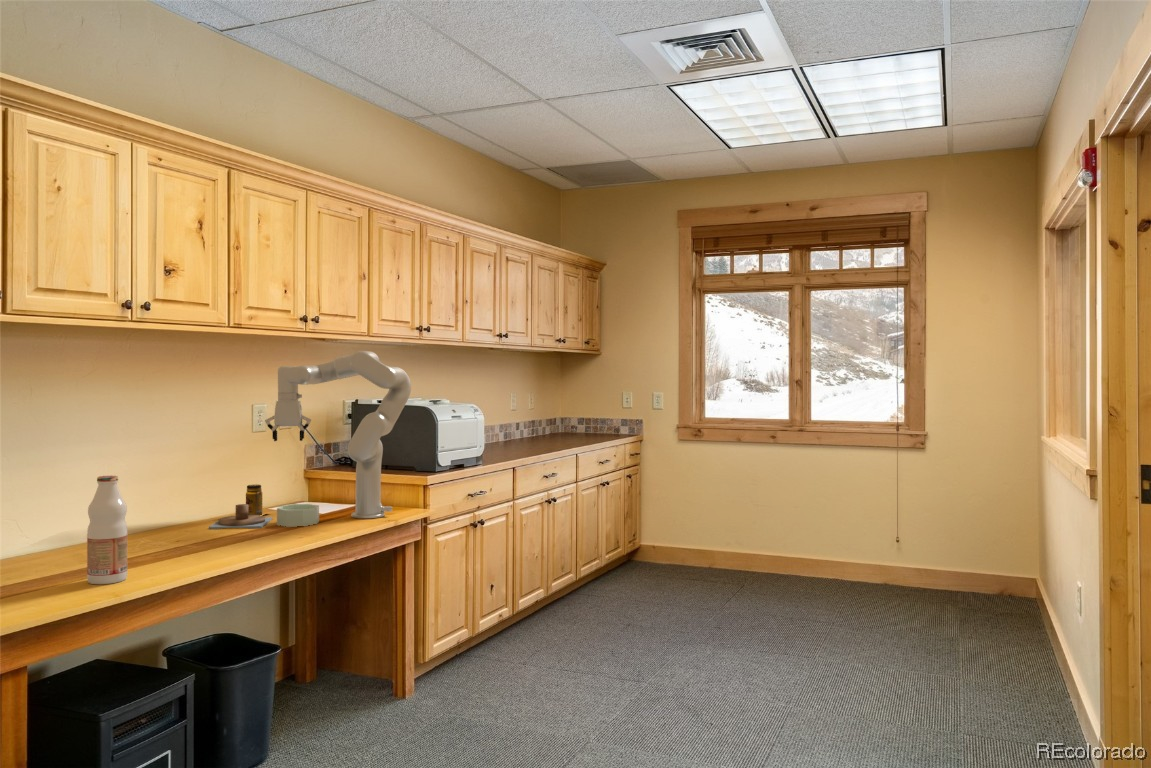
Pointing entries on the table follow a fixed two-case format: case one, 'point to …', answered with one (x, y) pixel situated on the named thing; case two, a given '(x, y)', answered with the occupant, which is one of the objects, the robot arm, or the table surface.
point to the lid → (241, 517)
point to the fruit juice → (107, 534)
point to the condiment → (254, 499)
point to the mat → (260, 525)
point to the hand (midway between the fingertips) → (288, 440)
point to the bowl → (297, 515)
